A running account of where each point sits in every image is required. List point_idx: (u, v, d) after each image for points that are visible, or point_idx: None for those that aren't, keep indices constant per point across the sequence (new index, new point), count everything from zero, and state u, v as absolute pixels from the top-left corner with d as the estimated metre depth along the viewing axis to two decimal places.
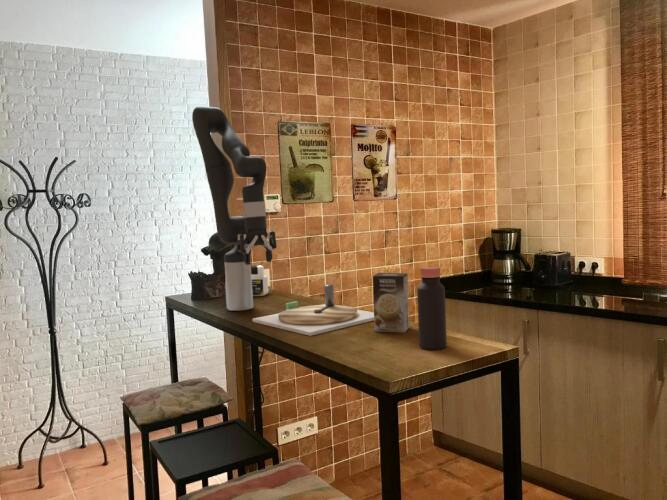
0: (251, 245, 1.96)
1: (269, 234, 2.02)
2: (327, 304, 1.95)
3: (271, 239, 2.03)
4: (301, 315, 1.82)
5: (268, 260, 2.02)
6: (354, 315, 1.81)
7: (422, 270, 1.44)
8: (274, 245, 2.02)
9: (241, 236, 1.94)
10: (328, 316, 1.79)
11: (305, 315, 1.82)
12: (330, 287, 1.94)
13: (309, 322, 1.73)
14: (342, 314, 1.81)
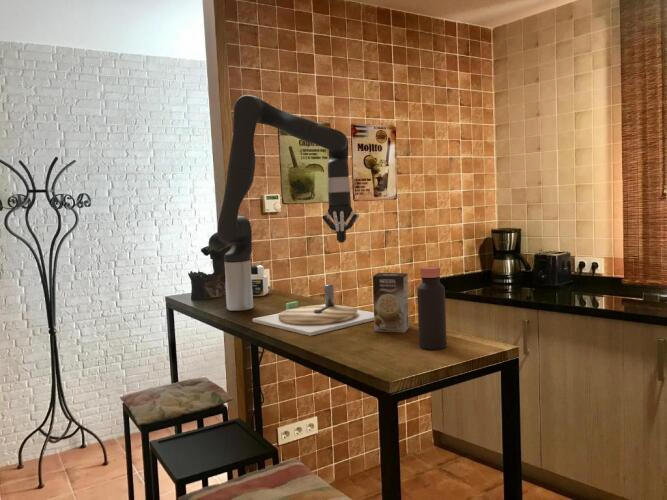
0: (336, 222, 1.97)
1: (352, 214, 1.96)
2: (327, 304, 1.95)
3: None
4: (301, 315, 1.82)
5: None
6: (354, 315, 1.81)
7: (422, 270, 1.44)
8: (347, 226, 1.96)
9: (323, 218, 1.99)
10: (328, 316, 1.79)
11: (305, 315, 1.82)
12: (330, 287, 1.94)
13: (309, 322, 1.73)
14: (342, 314, 1.81)
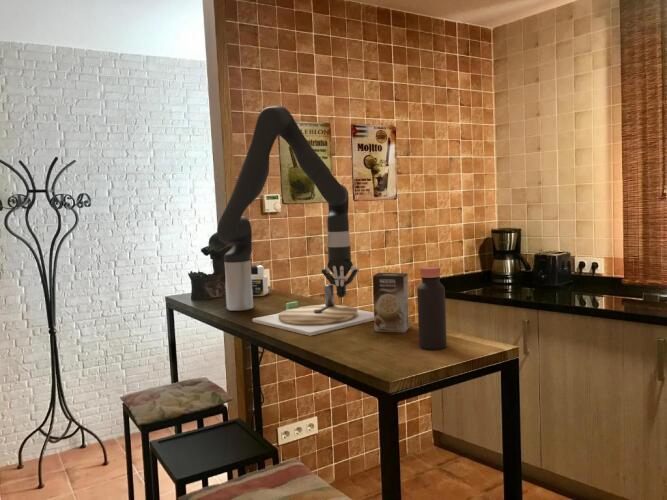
0: (335, 277, 1.92)
1: (352, 269, 1.92)
2: (327, 304, 1.95)
3: (350, 275, 1.92)
4: (301, 315, 1.82)
5: None
6: (354, 315, 1.81)
7: (422, 270, 1.44)
8: (347, 281, 1.92)
9: (322, 272, 1.94)
10: (328, 316, 1.79)
11: (305, 315, 1.82)
12: (330, 287, 1.94)
13: (309, 322, 1.73)
14: (342, 314, 1.81)
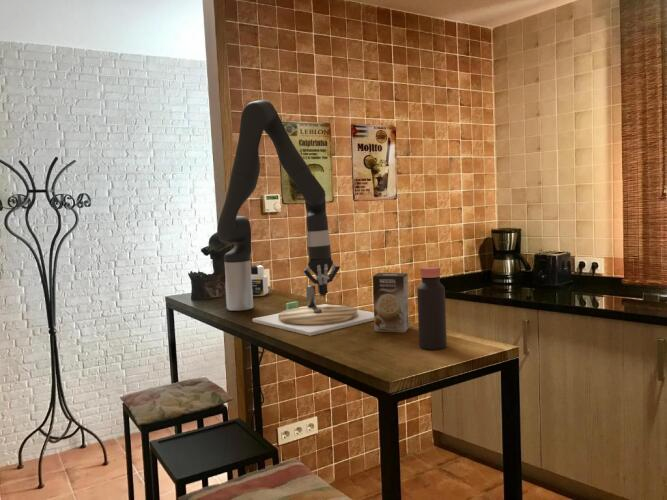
0: (320, 276, 1.95)
1: (333, 266, 1.97)
2: (311, 305, 1.95)
3: (332, 272, 1.97)
4: (309, 316, 1.80)
5: None
6: (356, 310, 1.87)
7: (422, 270, 1.44)
8: (330, 278, 1.96)
9: (305, 272, 1.94)
10: (338, 314, 1.82)
11: (313, 316, 1.81)
12: (314, 287, 1.95)
13: (332, 320, 1.74)
14: (346, 311, 1.86)
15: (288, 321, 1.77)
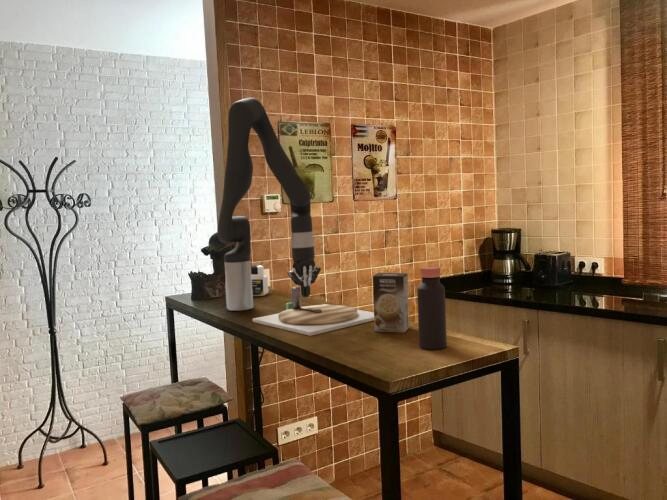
0: (305, 277, 1.94)
1: (315, 268, 1.98)
2: (298, 307, 1.93)
3: (314, 273, 1.98)
4: (319, 316, 1.80)
5: None
6: None
7: (422, 270, 1.44)
8: (313, 279, 1.97)
9: (292, 274, 1.91)
10: (342, 311, 1.85)
11: (322, 315, 1.81)
12: (299, 289, 1.93)
13: (349, 317, 1.78)
14: (343, 308, 1.90)
15: (305, 322, 1.74)
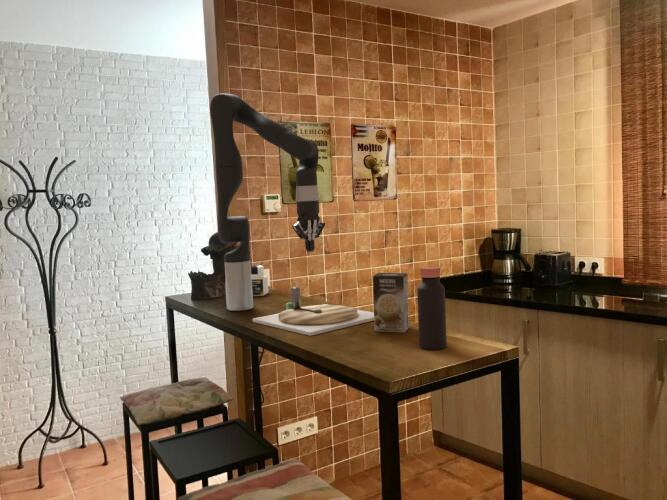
0: (309, 231, 1.94)
1: (319, 223, 1.98)
2: (298, 307, 1.93)
3: (318, 228, 1.98)
4: (319, 316, 1.80)
5: None
6: None
7: (422, 270, 1.44)
8: (317, 234, 1.97)
9: (297, 227, 1.91)
10: (342, 311, 1.85)
11: (322, 315, 1.81)
12: (299, 289, 1.93)
13: (349, 317, 1.78)
14: (343, 308, 1.90)
15: (306, 322, 1.74)
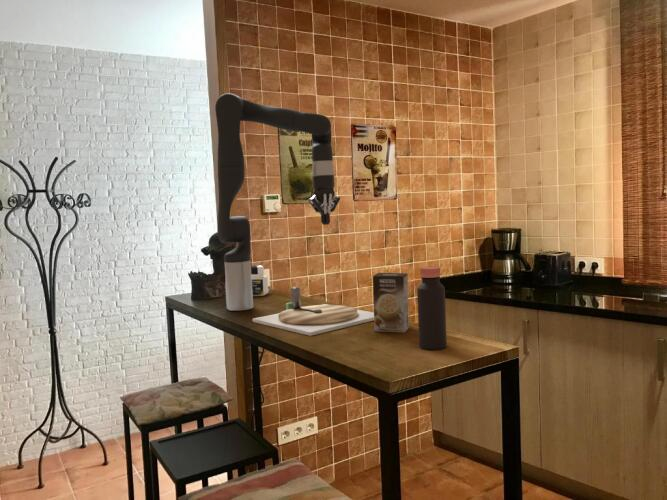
0: (325, 205, 2.02)
1: (334, 197, 2.06)
2: (298, 307, 1.93)
3: (333, 202, 2.06)
4: (319, 316, 1.80)
5: None
6: None
7: (422, 270, 1.44)
8: (333, 208, 2.05)
9: (313, 200, 1.99)
10: (342, 311, 1.85)
11: (322, 315, 1.81)
12: (299, 289, 1.93)
13: (349, 317, 1.78)
14: (343, 308, 1.90)
15: (306, 322, 1.74)
